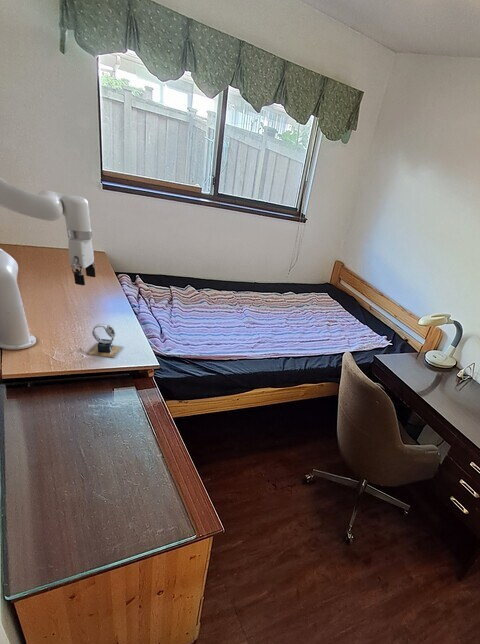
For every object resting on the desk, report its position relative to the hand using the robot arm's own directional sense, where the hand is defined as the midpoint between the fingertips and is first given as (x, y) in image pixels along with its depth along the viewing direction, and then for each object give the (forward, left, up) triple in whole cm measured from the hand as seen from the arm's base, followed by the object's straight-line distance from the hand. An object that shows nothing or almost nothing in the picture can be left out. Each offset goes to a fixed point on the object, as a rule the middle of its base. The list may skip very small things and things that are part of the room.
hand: (85, 280), depth 147 cm
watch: (+7, -6, -26) cm, 28 cm away
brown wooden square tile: (+7, -6, -26) cm, 28 cm away
